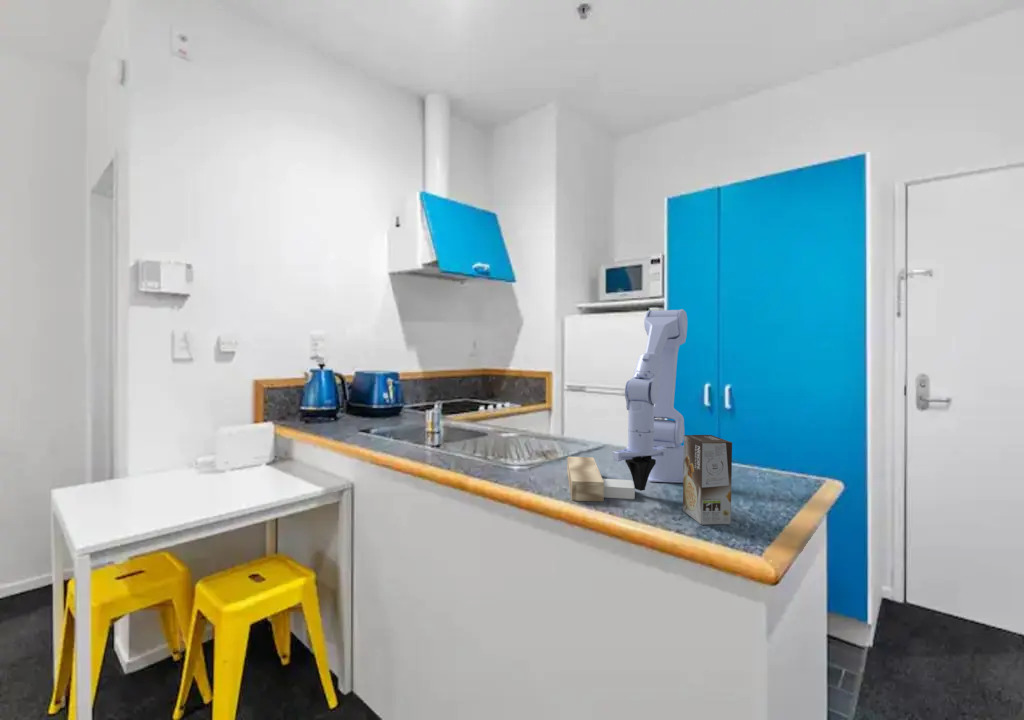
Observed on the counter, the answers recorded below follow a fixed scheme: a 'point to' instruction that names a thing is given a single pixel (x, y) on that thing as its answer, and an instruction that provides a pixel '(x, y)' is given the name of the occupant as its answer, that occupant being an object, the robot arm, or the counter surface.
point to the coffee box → (707, 479)
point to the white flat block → (619, 489)
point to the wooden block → (584, 479)
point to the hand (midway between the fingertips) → (639, 489)
